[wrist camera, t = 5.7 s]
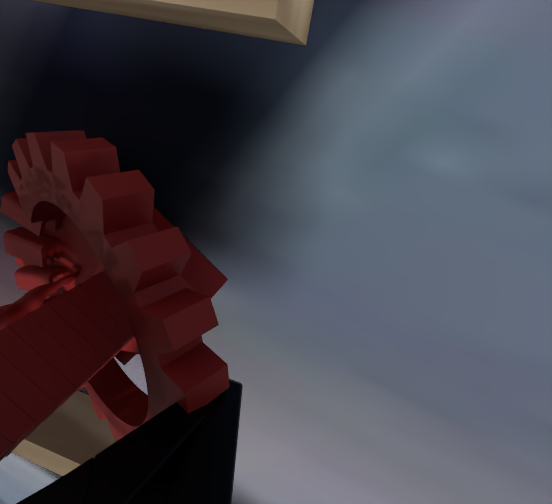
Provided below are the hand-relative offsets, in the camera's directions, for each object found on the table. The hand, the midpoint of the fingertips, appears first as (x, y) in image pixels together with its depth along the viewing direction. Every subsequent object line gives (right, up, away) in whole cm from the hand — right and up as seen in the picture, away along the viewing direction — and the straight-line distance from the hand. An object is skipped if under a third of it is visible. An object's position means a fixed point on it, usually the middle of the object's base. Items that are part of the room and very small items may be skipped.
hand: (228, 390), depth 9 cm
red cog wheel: (-4, +3, +5) cm, 7 cm away
